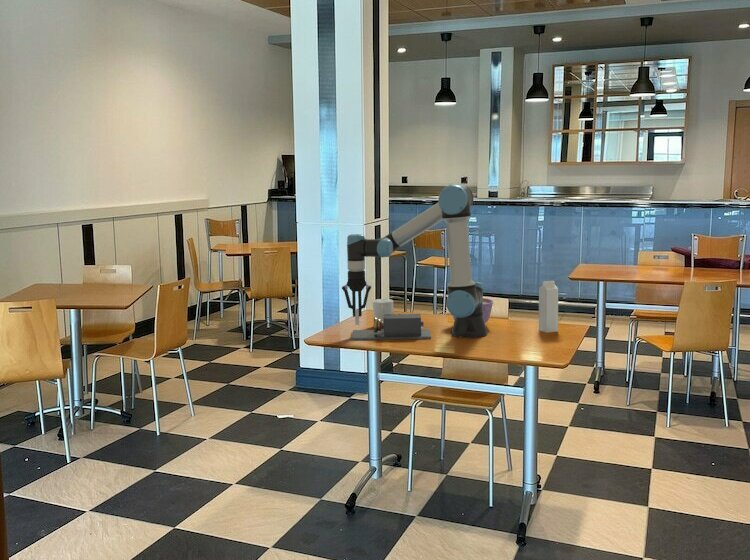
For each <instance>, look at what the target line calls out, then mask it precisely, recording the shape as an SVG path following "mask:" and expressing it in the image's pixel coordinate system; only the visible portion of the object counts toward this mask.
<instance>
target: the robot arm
mask: <svg viewBox="0 0 750 560" xmlns="http://www.w3.org/2000/svg"><path fill="white" fill-rule="evenodd" d="M437 201H438V202H437V203H435V204H433V205H432V206H430V207H429V208H427V209H426V210H424V211H423V212H421V213H419V214H418V215H416V216H414V217H412V219H410V220H409V221H406V222H405V223H403V224H401V226H398V227H397V228H396V229H394V230H392V231H391V232H390V233H388V234H387V235H385V236H383V237H381V238H377V239H373V238H371V239H369V238H366V237H365V235H364V233H363V234H361V233H360V234H359V233H351V234H348V235H347V237H346V240H347V241H346V252H347V257H346V258H347V261H346V262H347V282H346V284H345V285H342V287H341V290H342V291H343V292H344V296H345V300H346V303H347V307H348V308H349V309H351V310H352V317H354V318H355V325H358V326H359V325H360V317H362V313H363V312H362V310H363V309H366V307H367V302H368V297H369V292H370V291H371V289H372V285H369V284H368V283H367V281H366V271H365V269H366V258H368V257H371V258H373V257H374V258H390V257H392V255H393V253H394V252H395V251H396V250H398V249H399V248H401V247H403V246H404V245H405V244H407V243H409V242H410V241H412V240H413V239H415V238H417V237H418V236H419V235H421V234H423V233H425V232H427V231H428V230H429V229H431V228H432V227H435V226H436V225H437V224H438V225H439V223H441V222H442V221H443V222H445V224H446V225H445V226H446V236H447V247H448V248H447V250H448V263H449V275H450V276H449V278H450V281H449V282H448V283H447V297H446V301H445V306H446V309H447V310H448V312H449V313H450V315H453V316H455V317H456V318H455V320H454V321H453V326H452V327H451V335H452V336H453V337H458V338H469V339H471V338H473V339H474V338H481V337H485V336H487V335H488V328H487V327H486V323H485V322H484V319H483V298H484V286H483V283H482V282H481V281H480V282H479V281H474V280H473V279H472V268H471V255H470V241H469V239H470V238H469V227H468V225H469V224H468V221H469V219H470V218H471V206H472V205H473V203H474V193H473V191H472V189H471V188H470V187H469V186H467V185H465V184H462V183H460V184H459V183H458V184H457V183H456V184H448V185H447V186H446V187H444V188H443V189H442V190H441V191H440V193H439V194H438V199H437ZM348 288H349V289H348ZM364 289H365V295H364V299H363V303H362V291H363V290H364ZM348 290H350V291H351V294H352V297H351V298H352V301H351V298H350V295H349V291H348ZM356 292H357V294H358V295H357V298H358V302H357V303H358V305H357V306H358V308H357V307H356V301H357V300H356ZM351 302H352V303H351ZM453 316H452V317H453Z"/></svg>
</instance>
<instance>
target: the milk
mask: <svg viewBox="0 0 750 560" xmlns="http://www.w3.org/2000/svg"><path fill="white" fill-rule="evenodd" d="M555 282H556V281H555V280H546V281H545V280H544V281H542V285H541V286H539V287H538V331H540V332H543V333H548V334H549V333H556V332H559V288H558V286H556V284H555Z"/></svg>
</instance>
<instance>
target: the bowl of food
mask: <svg viewBox="0 0 750 560" xmlns="http://www.w3.org/2000/svg"><path fill="white" fill-rule="evenodd" d="M493 305H494V300H493V299H491V298H490V299H489V298H485V297H483V319H484V322H485V324H486V323H488V322H489V320H490V316H491V312H492V308H493ZM451 315H452V314H451ZM455 318H456V317H455V316H453V315H452V319H453V320H454V321H455Z"/></svg>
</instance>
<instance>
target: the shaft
mask: <svg viewBox="0 0 750 560" xmlns="http://www.w3.org/2000/svg"><path fill="white" fill-rule="evenodd" d="M424 324H425V322H424V320H421V329H425V326H424ZM382 329H384V322H383V321H381V319H377V317H374V316H373V330H374V333H378V331H381V330H382Z"/></svg>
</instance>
